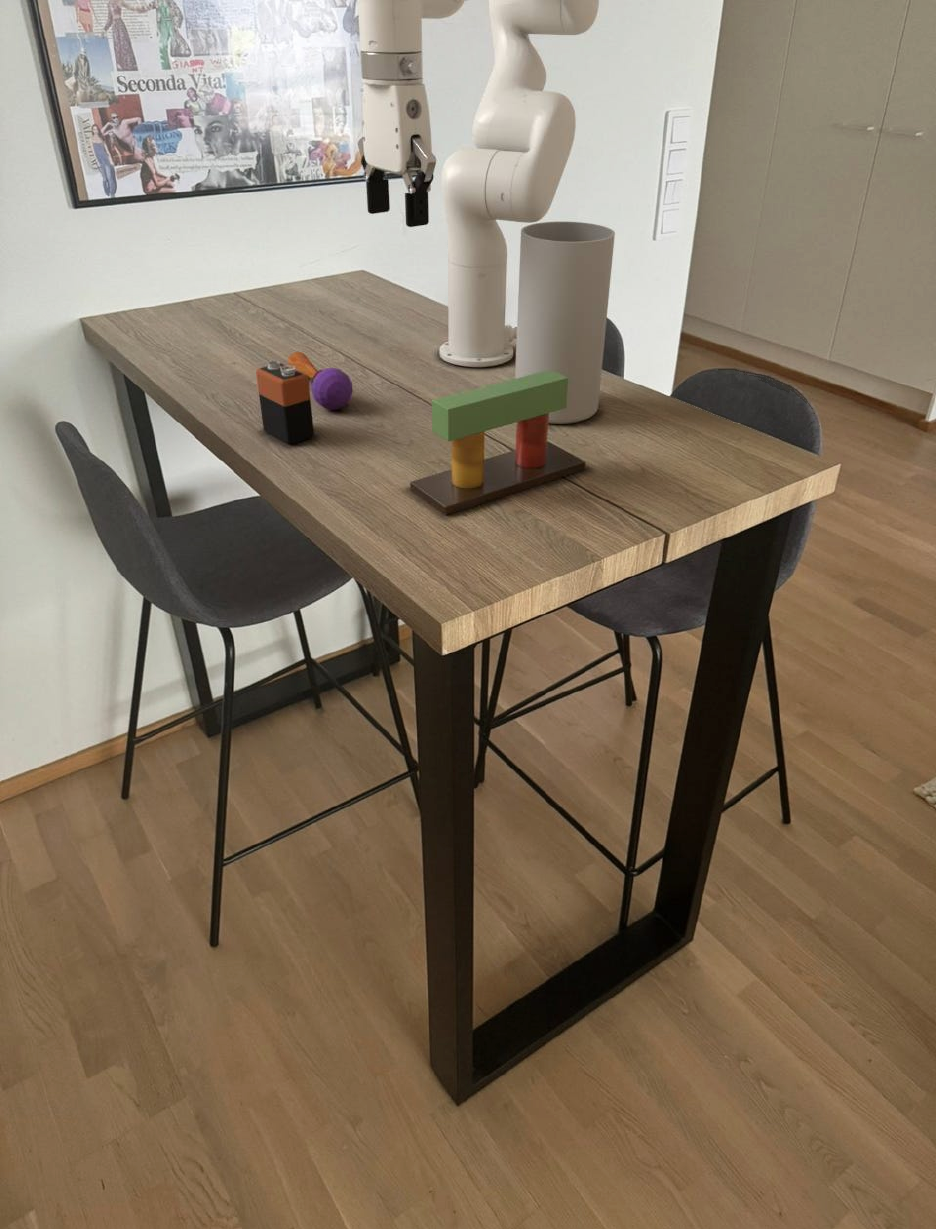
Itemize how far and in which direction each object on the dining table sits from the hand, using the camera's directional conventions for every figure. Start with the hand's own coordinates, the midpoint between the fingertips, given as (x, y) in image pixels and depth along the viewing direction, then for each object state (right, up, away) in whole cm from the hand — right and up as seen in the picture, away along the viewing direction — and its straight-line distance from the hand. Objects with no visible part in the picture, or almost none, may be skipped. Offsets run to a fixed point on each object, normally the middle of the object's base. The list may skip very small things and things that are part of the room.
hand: (397, 218), depth 119 cm
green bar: (+14, -29, -10) cm, 33 cm away
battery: (-16, -28, +6) cm, 33 cm away
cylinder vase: (+23, -22, +14) cm, 35 cm away
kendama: (-14, -19, +19) cm, 30 cm away
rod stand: (+13, -36, -5) cm, 38 cm away
